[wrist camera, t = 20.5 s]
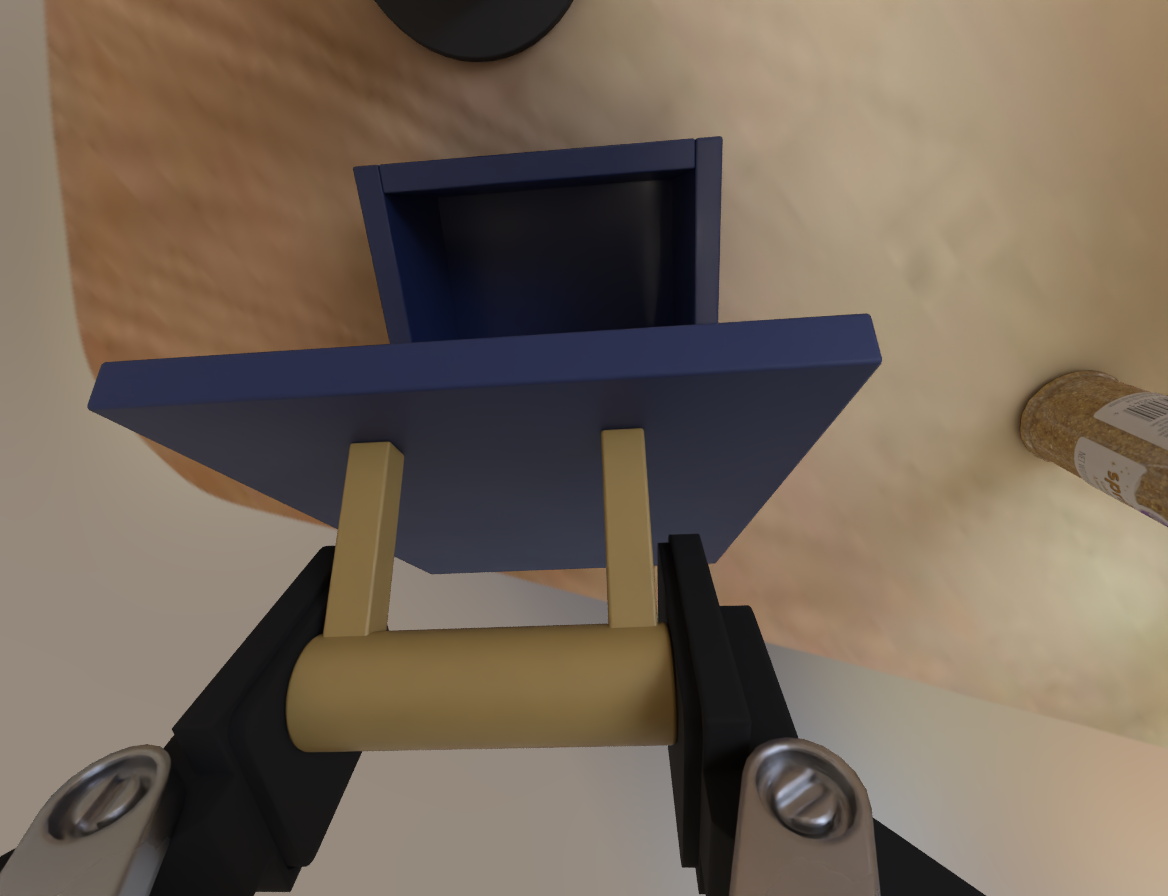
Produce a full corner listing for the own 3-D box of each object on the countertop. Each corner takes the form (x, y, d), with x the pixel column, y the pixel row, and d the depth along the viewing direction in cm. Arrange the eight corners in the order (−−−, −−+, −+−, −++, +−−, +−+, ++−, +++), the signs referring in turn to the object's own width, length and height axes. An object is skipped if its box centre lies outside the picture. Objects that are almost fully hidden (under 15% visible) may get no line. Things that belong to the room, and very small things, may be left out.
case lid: (100, 360, 8) (-48, 781, 6) (872, 311, 7) (992, 765, 5) (432, 554, 22) (420, 703, 20) (713, 542, 21) (731, 695, 19)
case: (420, 178, 23) (351, 166, 17) (689, 156, 22) (723, 135, 16) (471, 481, 28) (434, 557, 22) (688, 470, 28) (712, 546, 22)
